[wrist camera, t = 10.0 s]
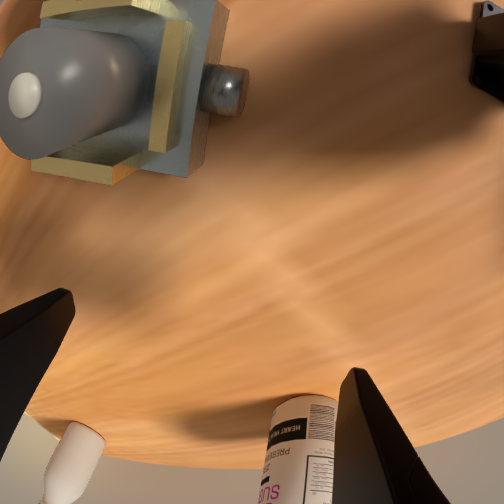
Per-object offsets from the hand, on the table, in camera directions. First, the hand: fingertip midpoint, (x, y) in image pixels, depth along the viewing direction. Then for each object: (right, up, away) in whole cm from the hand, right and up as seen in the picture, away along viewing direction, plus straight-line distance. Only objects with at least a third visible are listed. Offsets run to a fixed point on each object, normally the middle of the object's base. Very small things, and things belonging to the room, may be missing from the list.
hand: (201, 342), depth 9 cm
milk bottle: (-28, -30, +38) cm, 56 cm away
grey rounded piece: (-7, +12, +6) cm, 15 cm away
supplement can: (+8, -14, +22) cm, 28 cm away
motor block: (-7, +14, +8) cm, 17 cm away
